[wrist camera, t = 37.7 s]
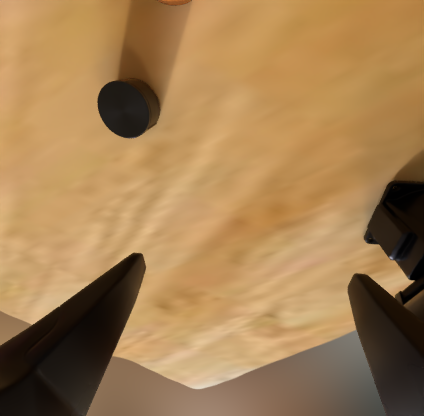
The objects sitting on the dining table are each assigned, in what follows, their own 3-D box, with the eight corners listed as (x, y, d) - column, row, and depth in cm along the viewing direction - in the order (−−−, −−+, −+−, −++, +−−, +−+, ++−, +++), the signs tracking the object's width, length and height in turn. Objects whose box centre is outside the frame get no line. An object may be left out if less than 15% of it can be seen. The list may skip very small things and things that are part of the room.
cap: (170, 104, 18) (160, 110, 16) (145, 140, 20) (133, 149, 18) (128, 66, 17) (111, 66, 15) (106, 107, 19) (89, 113, 17)
